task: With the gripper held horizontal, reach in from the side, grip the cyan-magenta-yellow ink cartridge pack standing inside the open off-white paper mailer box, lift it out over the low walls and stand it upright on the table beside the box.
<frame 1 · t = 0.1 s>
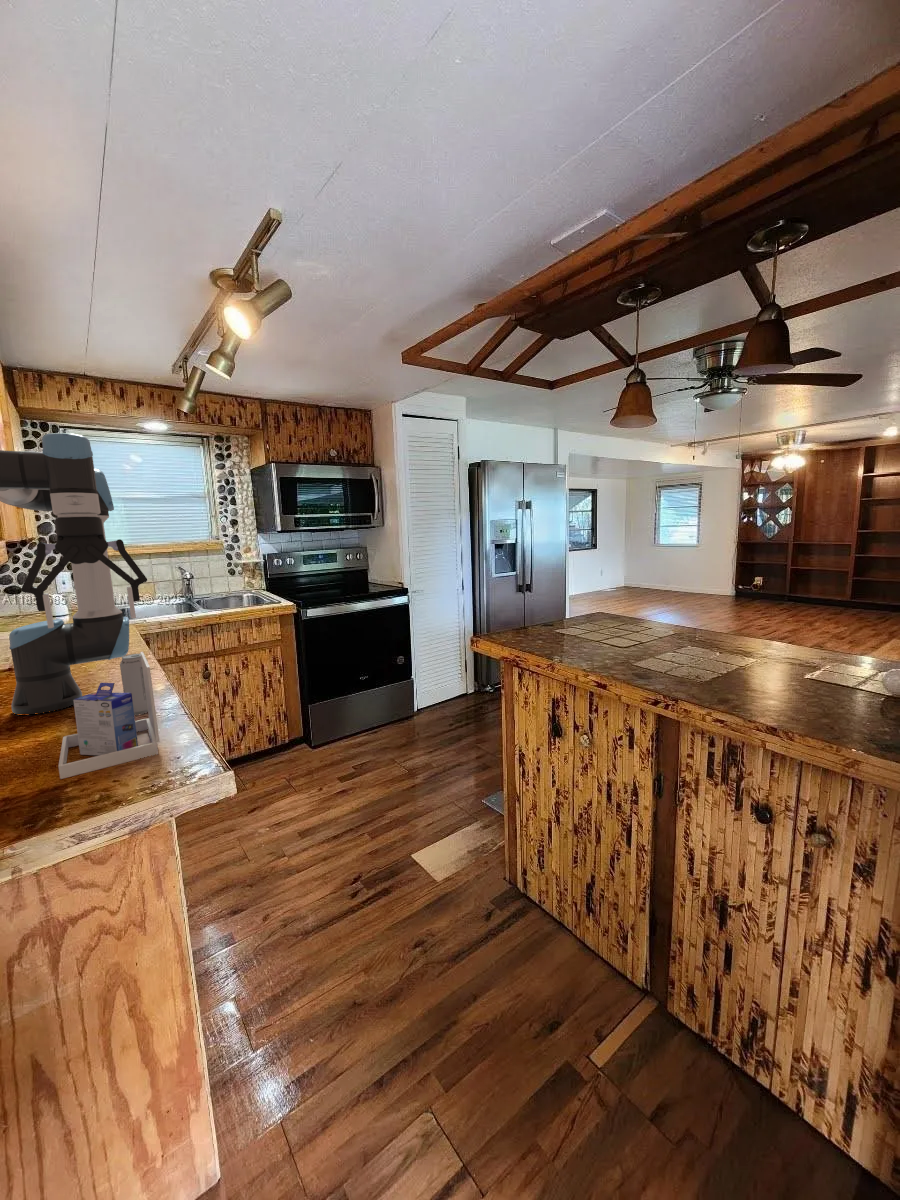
hand: (93, 622, 99), 28 cm above the table, tool pointing down, fingers open, 13 cm apart
ink cartridge box: (110, 751, 104), resting in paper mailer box
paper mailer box: (110, 750, 104), on the table
energy drink can: (140, 712, 127), on the table
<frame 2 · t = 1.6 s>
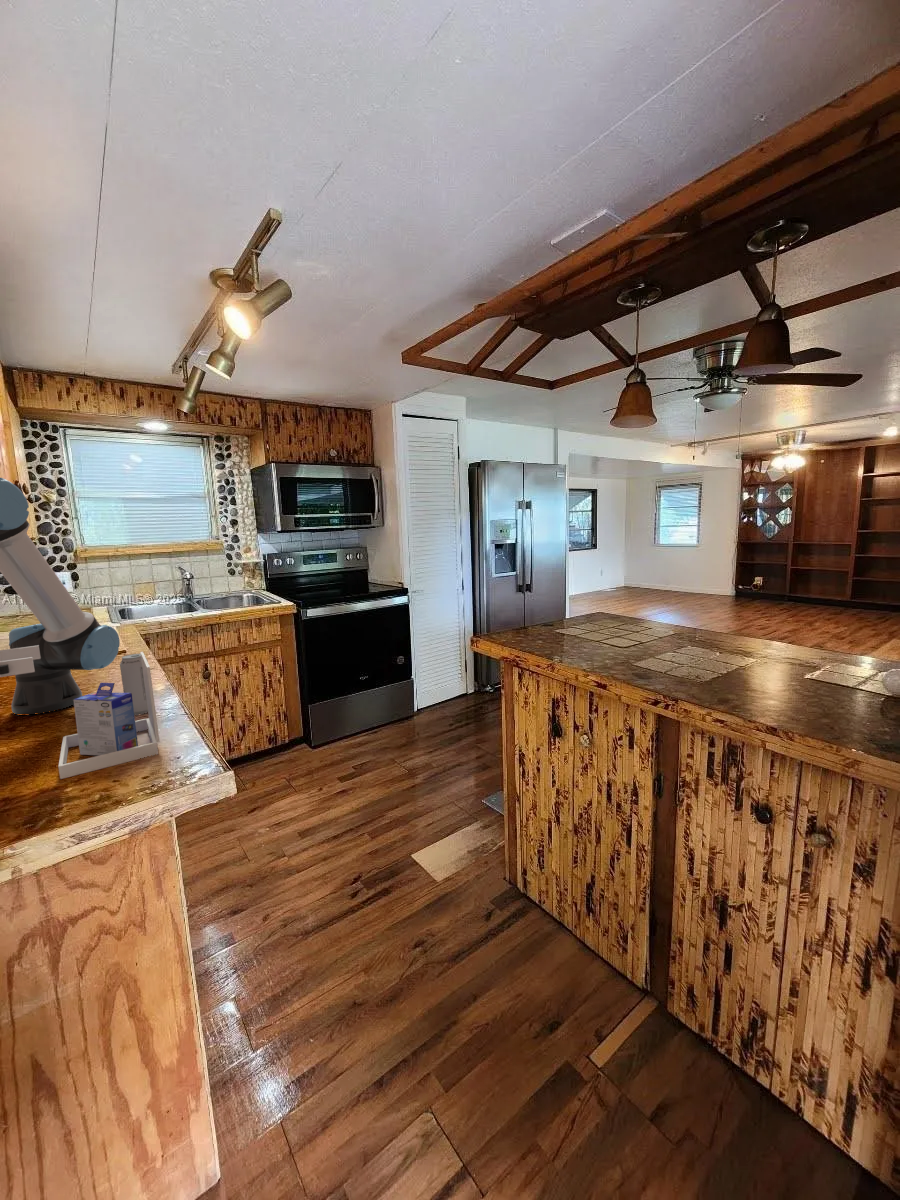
hand: (36, 657, 95), 22 cm above the table, tool horizontal, fingers open, 13 cm apart
nothing on the table moved.
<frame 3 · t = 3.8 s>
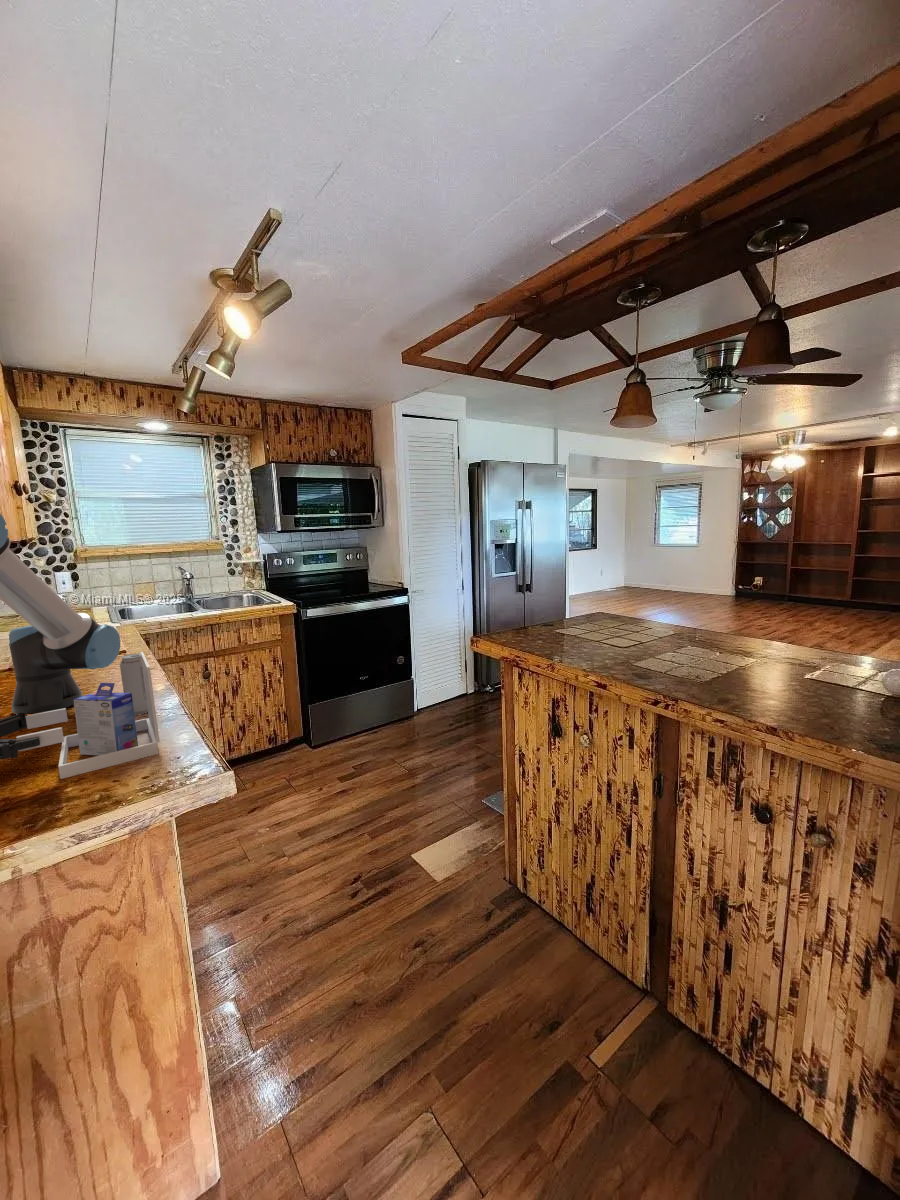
hand: (65, 723, 99), 8 cm above the table, tool horizontal, fingers open, 13 cm apart
nothing on the table moved.
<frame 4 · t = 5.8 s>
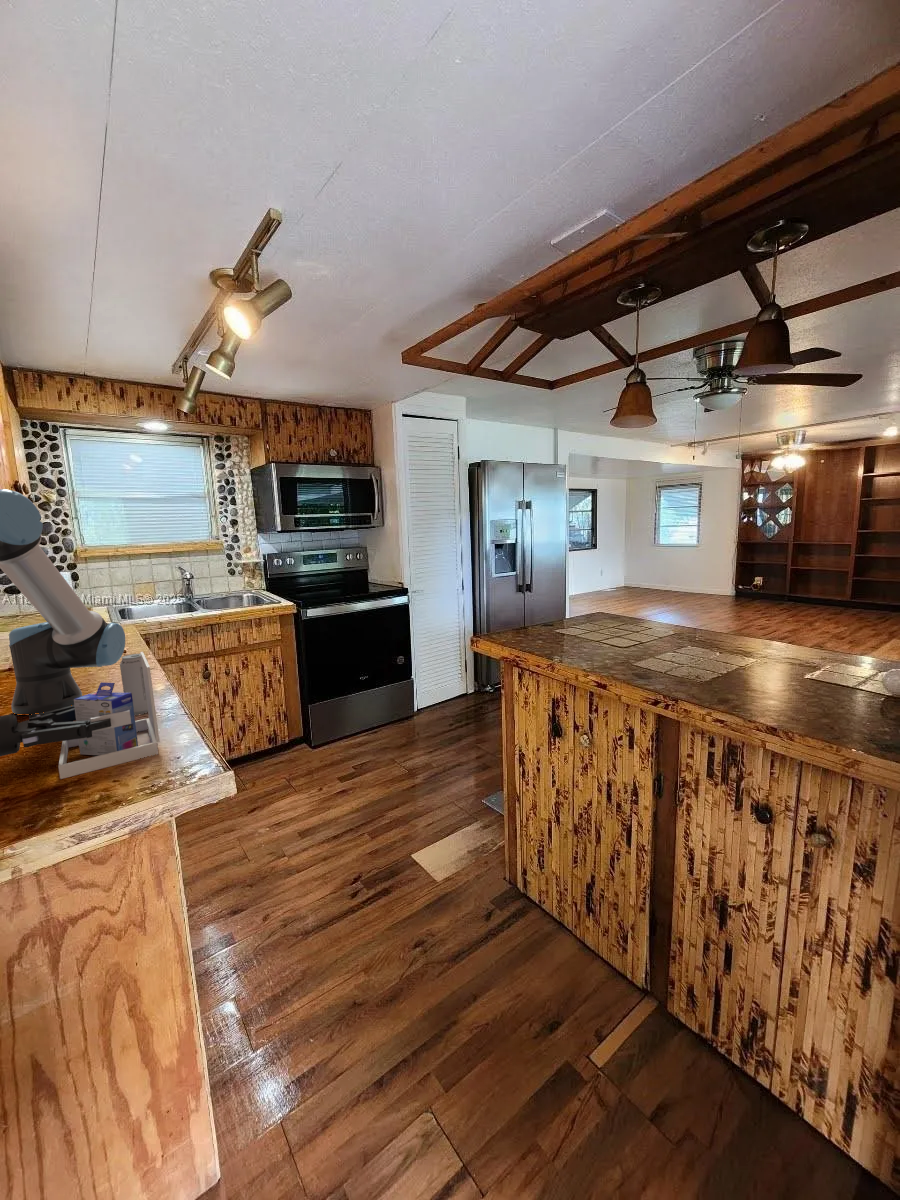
hand: (128, 709, 105), 8 cm above the table, tool horizontal, fingers closed on ink cartridge box, 10 cm apart
ink cartridge box: (110, 751, 104), resting in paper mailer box, touching gripper
everything else where it was.
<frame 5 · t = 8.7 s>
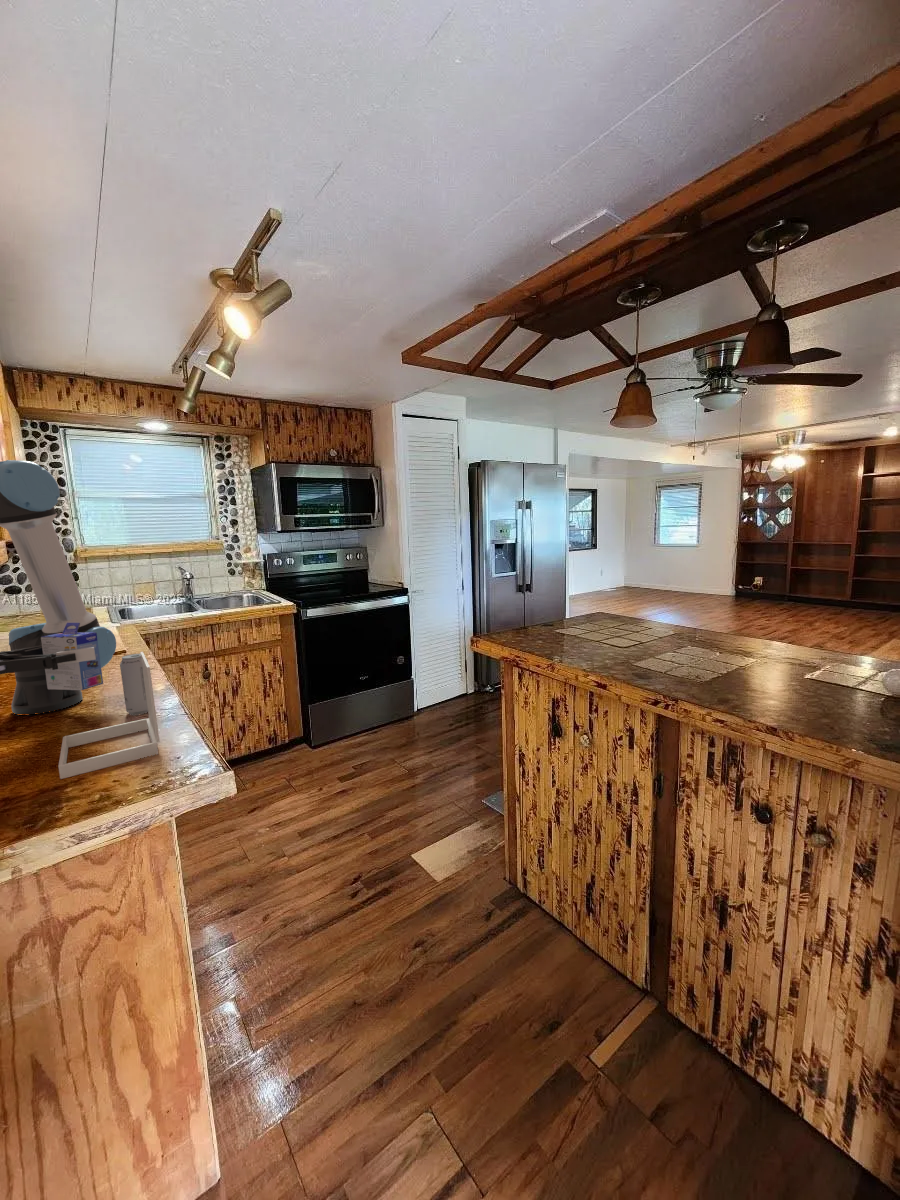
hand: (94, 648, 112), 20 cm above the table, tool horizontal, fingers closed on ink cartridge box, 10 cm apart
ink cartridge box: (76, 687, 111), point 12 cm above the table, touching gripper
everything else where it was.
when the fingers open (10 cm above the table, at t = 11.3 s): ink cartridge box drops 2 cm, on the table.
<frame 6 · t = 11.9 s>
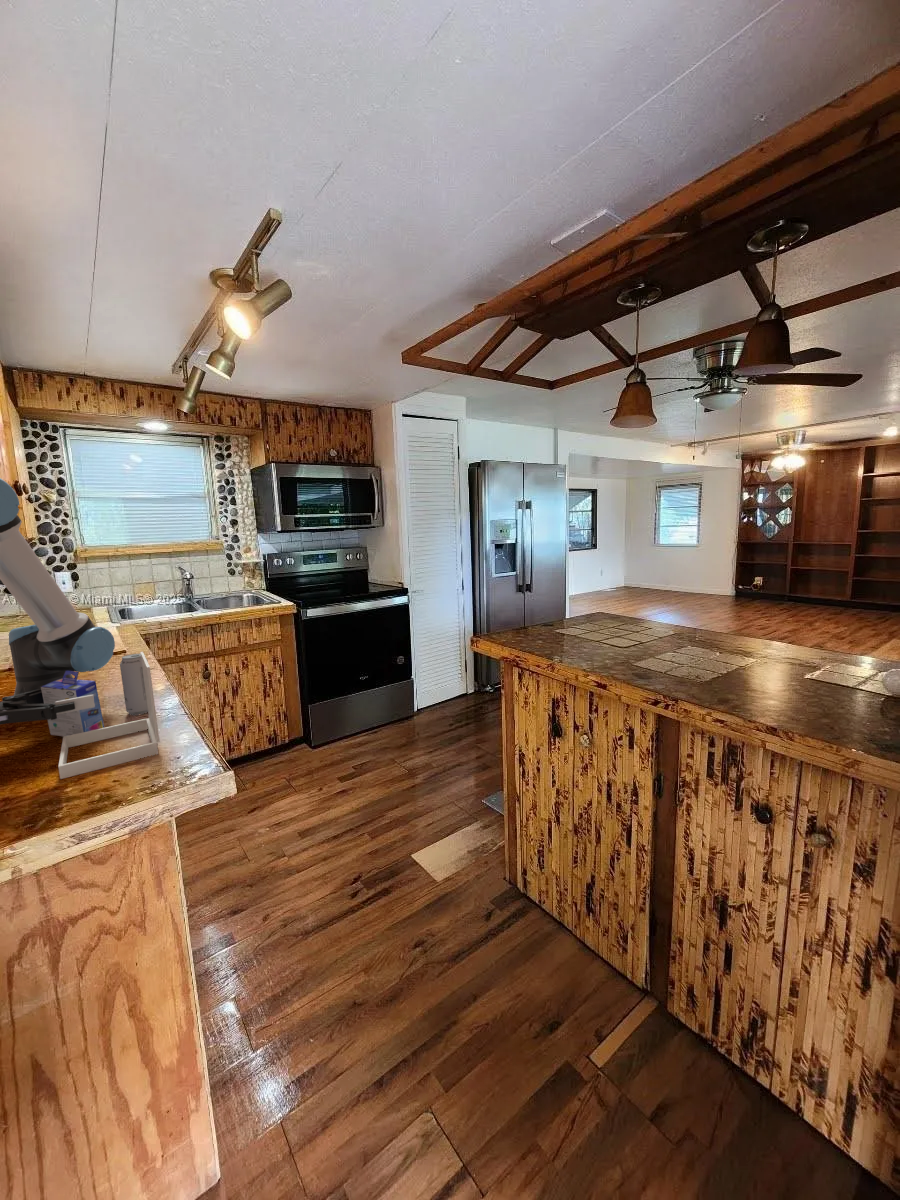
hand: (94, 693, 113), 10 cm above the table, tool horizontal, fingers open, 13 cm apart
ink cartridge box: (79, 732, 114), on the table, touching gripper
everything else where it was.
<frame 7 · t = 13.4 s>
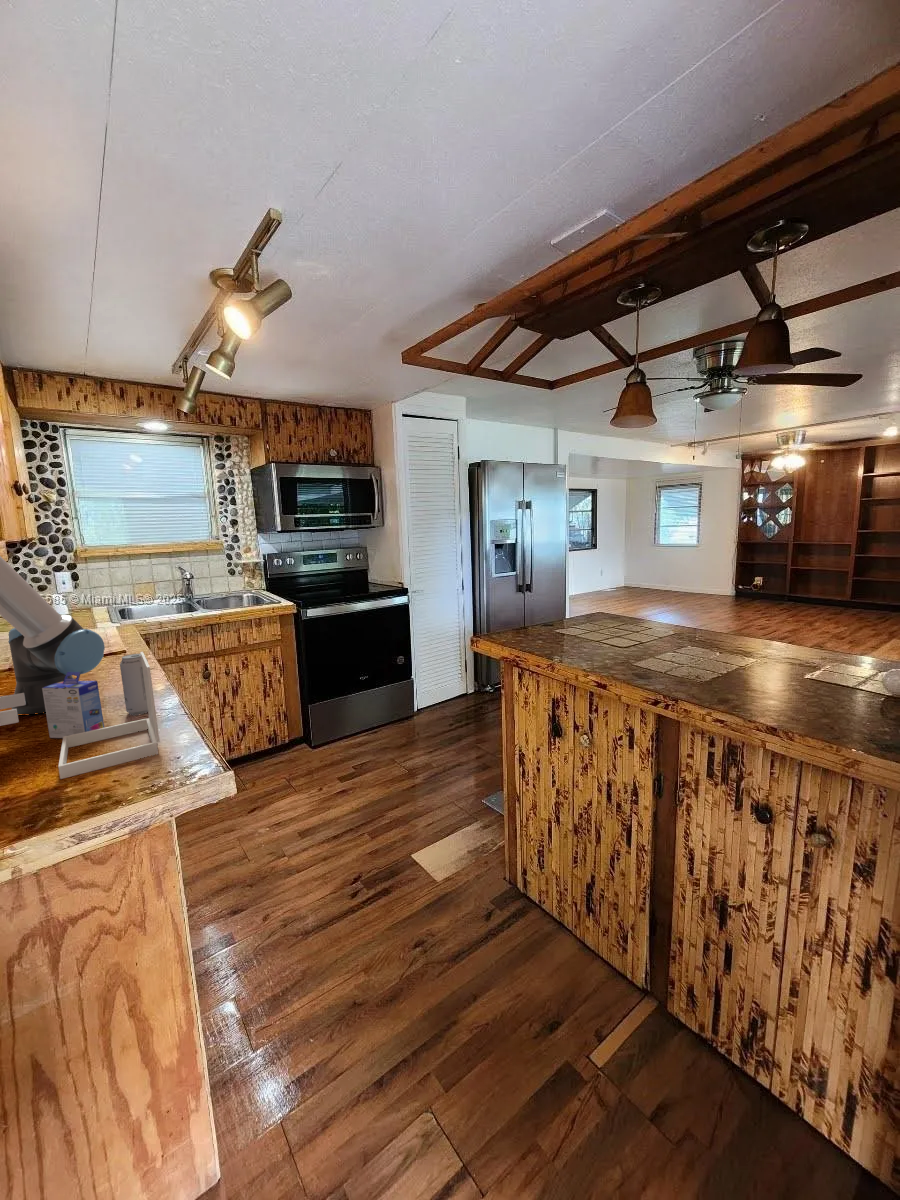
hand: (21, 706, 105), 10 cm above the table, tool horizontal, fingers open, 13 cm apart
ink cartridge box: (78, 734, 114), on the table
everything else where it was.
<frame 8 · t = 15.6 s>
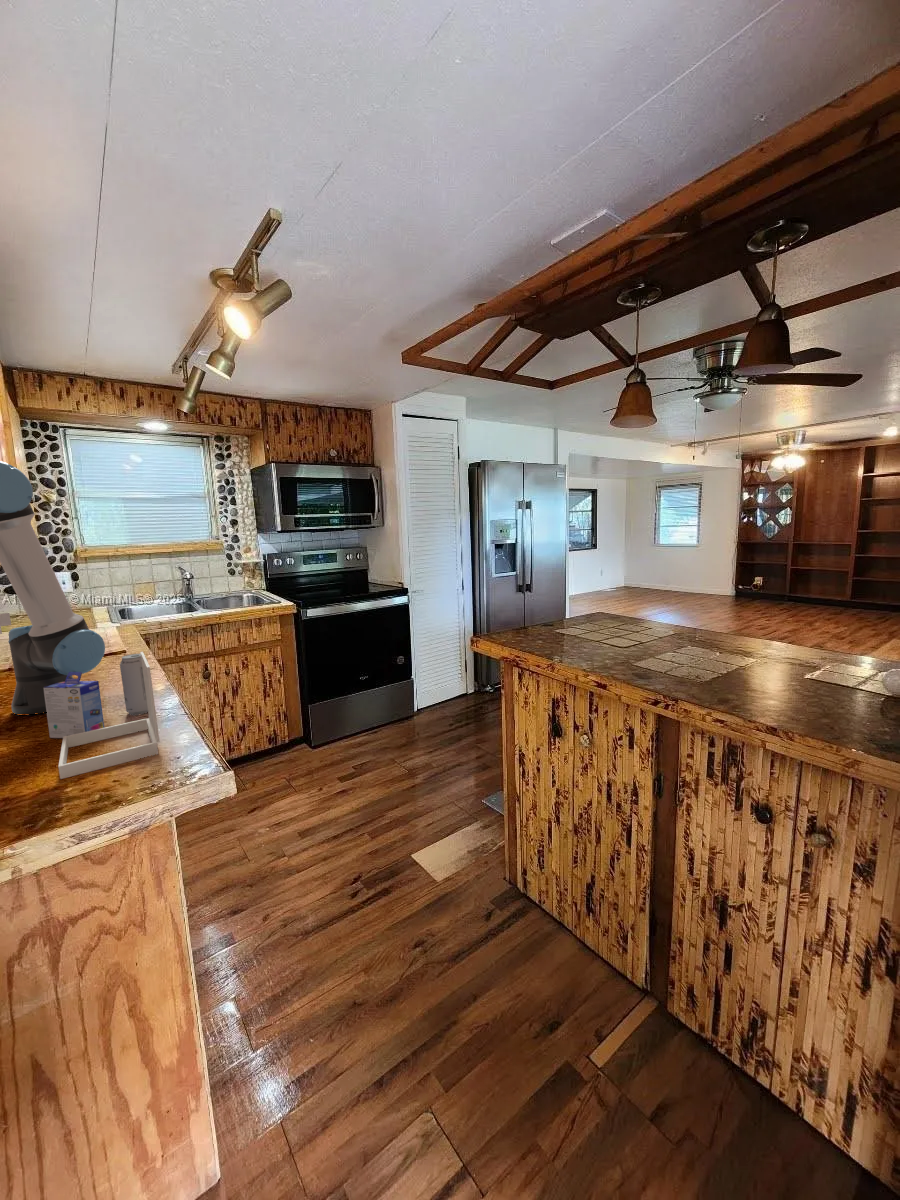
hand: (5, 622, 103), 28 cm above the table, tool horizontal, fingers open, 13 cm apart
nothing on the table moved.
at the end: ink cartridge box inside the target area (1.9 cm from its centre), on the table; ink cartridge box tilted 0°; the gripper is holding nothing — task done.
